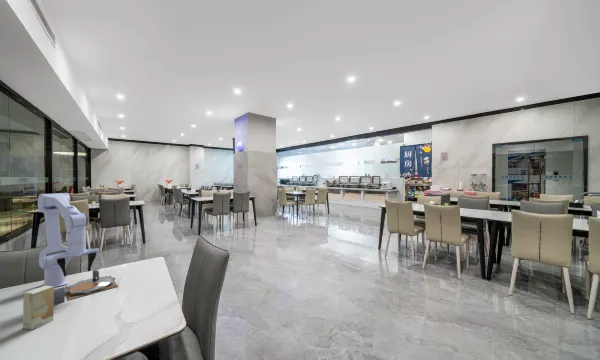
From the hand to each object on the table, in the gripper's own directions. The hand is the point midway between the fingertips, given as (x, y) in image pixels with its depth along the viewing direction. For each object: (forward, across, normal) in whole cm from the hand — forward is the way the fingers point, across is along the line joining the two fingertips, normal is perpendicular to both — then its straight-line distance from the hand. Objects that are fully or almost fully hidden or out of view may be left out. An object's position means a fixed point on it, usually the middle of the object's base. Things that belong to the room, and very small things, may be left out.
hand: (77, 273), depth 104 cm
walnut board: (+10, +5, +7) cm, 13 cm away
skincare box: (+10, -11, -17) cm, 23 cm away
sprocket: (+10, +5, +7) cm, 13 cm away
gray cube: (+10, -7, -1) cm, 12 cm away
